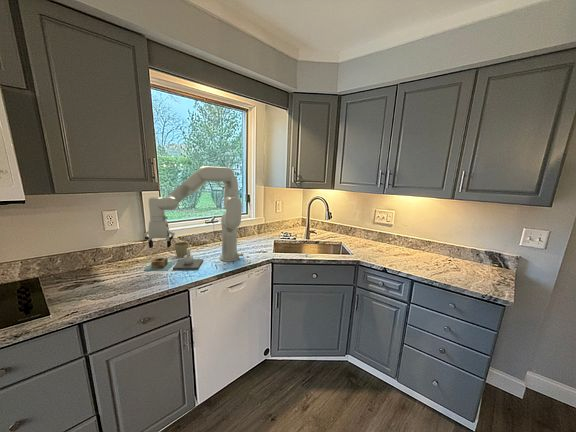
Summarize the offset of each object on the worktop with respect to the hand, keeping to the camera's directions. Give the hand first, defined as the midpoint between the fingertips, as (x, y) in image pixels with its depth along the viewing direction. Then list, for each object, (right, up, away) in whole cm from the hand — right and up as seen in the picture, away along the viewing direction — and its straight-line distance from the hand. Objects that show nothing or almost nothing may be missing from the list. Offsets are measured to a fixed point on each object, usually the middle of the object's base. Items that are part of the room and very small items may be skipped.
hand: (160, 247), depth 142 cm
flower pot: (+3, -9, +21) cm, 23 cm away
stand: (+15, -12, +5) cm, 19 cm away
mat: (-1, -12, +2) cm, 12 cm away
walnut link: (-1, -11, +2) cm, 12 cm away
